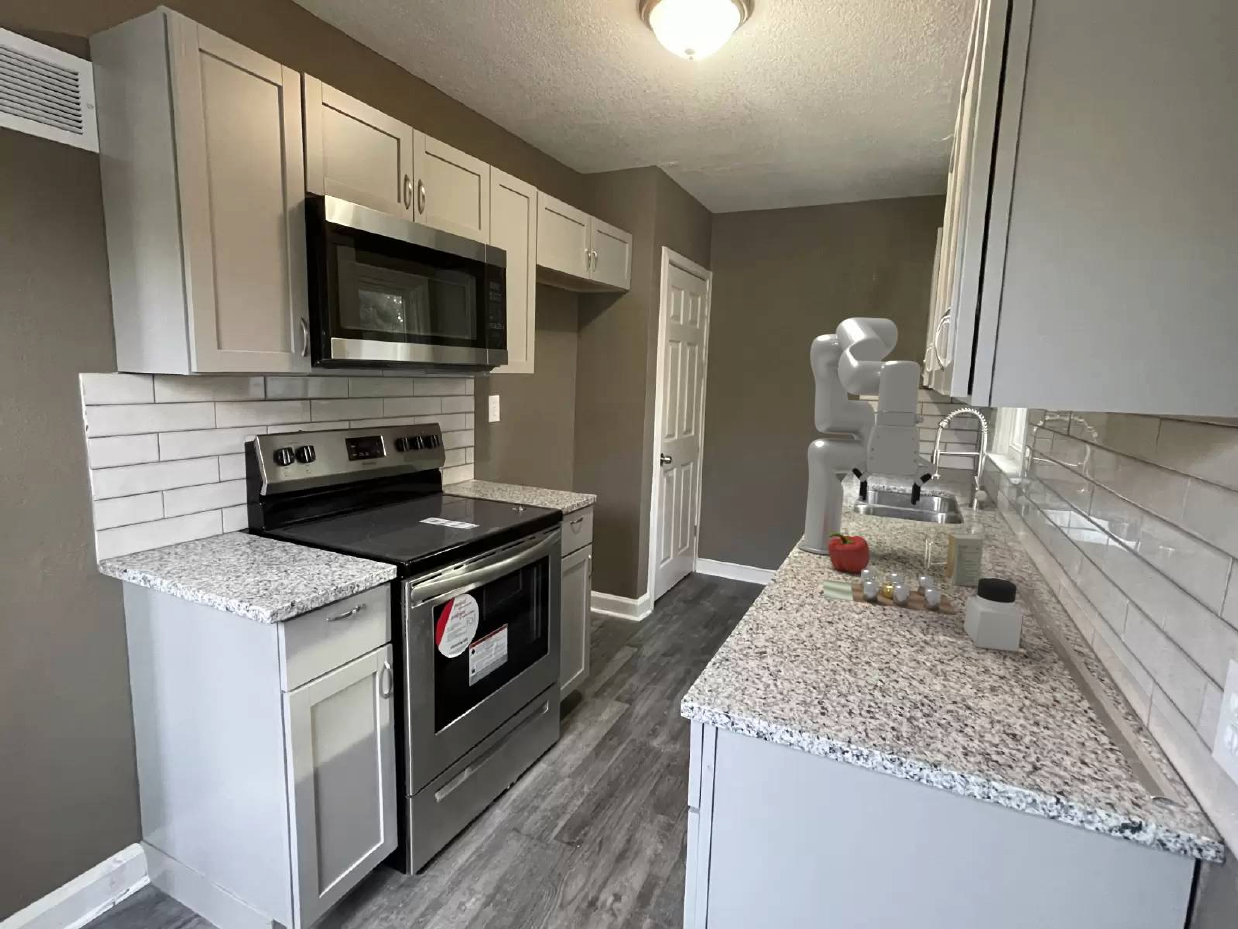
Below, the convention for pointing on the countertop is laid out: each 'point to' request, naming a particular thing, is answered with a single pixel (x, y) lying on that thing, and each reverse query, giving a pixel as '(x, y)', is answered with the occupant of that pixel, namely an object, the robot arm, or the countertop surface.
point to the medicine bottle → (994, 616)
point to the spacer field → (901, 589)
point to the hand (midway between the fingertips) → (888, 501)
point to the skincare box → (964, 559)
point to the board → (879, 596)
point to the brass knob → (888, 590)
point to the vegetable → (848, 553)
